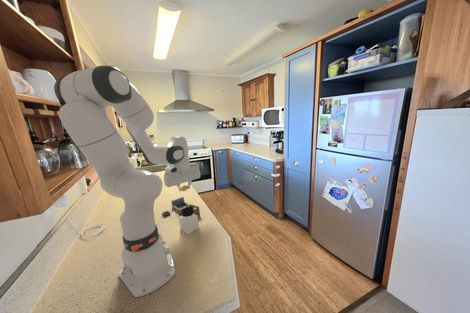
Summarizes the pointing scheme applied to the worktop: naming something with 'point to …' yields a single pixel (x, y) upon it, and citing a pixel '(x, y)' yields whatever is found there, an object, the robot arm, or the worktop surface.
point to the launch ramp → (196, 210)
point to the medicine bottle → (188, 220)
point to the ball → (184, 188)
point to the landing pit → (179, 204)
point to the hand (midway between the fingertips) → (184, 189)
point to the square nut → (166, 213)
